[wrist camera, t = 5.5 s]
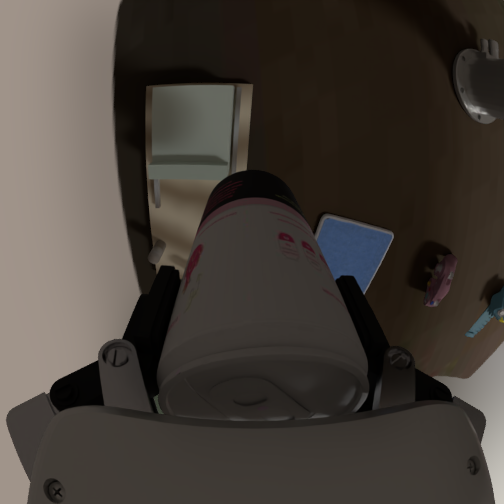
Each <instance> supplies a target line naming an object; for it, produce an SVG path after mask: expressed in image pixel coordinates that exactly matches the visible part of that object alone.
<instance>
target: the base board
mask: <svg viewBox="0 0 504 504" xmlns="http://www.w3.org/2000/svg"><path fill="white" fill-rule="evenodd" d="M184 85H233V86H234V87H235V88H234V102H233V117H232V133H231V150H230V169H229V174H228V176H229V175H231V174H234V173H236V172H240V171H245V170H246V169H247V155H248V141H249V128H250V115H251V102H252V90H253V84H236V83H183V84H166V85H154V86H146V168H147V186H148V201H149V212H150V223H151V233H152V241H153V248H152V250H151V252H150V254H149V255H148V260H149V261H150V262H151V263H153V264H156V271H157V273H158V271H159V269H160V266H161V265H168V266H174V267H175V269H176V270H179V273H180V279H182V277H183V274H184V270H185V267H186V264H187V261H188V258H189V254H190V251H191V248H192V245H193V242H194V239H195V236H196V233H197V230H198V227H199V224H200V221H201V218H202V215H203V212H204V209H205V207H206V204H207V201H208V198H209V196H210V194H211V192H212V190H213V189H214V188H215V186H216V185H217V184H218V183H219V182H220V180H188V179H149V173H148V165H149V164H150V163H152V94H153V87H166V86H184Z"/></svg>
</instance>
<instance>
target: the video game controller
mask: <svg viewBox="0 0 504 504" xmlns="http://www.w3.org/2000/svg"><path fill="white" fill-rule="evenodd" d="M456 264H457V258H456V257H455V256H454V255H453V254H448V255H446V256H445V257H444V259H443V260H442V261H441V262H440V263H437V265H436V267H435V269H434V275H436V276H437V277H438V278H437V280H436V279H434V278H430V279H429V281H428V283H427V290H426V294H425V297H424V305H426V306H430V307H433V306H438V303H439V302H440V301H441V300H442V299H443V297H444V296H445V295H446V294H447V293H448V291H449V288H450V283H451V280H452V278H453V276H454V272H455V266H456Z"/></svg>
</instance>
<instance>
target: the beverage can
mask: <svg viewBox="0 0 504 504" xmlns="http://www.w3.org/2000/svg"><path fill="white" fill-rule="evenodd" d="M367 372H368V361H367V357H366V354H365V352H364V349H363V347H362V344H361V341H360V339H359V336H358V334H357V331H356V329H355V327H354V324H353V322H352V319H351V317H350V314H349V312H348V310H347V307H346V305H345V303H344V300H343V298H342V296H341V293H340V291H339V289H338V286H337V284H336V282H335V280H334V278H333V275H332V273H331V271H330V269H329V267H328V264H327V262H326V260H325V258H324V256H323V254H322V251H321V249H320V247H319V245H318V243H317V241H316V239H315V237H314V235H313V233H312V231H311V229H310V227H309V225H308V223H307V221H306V219H305V217H304V215H303V213H302V211H301V209H300V207H299V205H298V203H297V201H296V199H295V197H294V195H293V193H292V191H291V190H290V188H289V187H288V186H287V185H286V184H285V183H284V182H283V181H282V180H281V179H280V178H278V177H276V176H275V175H273V174H270V173H268V172H264V171H259V170H245V171H240V172H236V173H234V174H231V175H229V176H227V177H226V178H224V179H223V180H222V181H220V182H219V183H218V184H217V185H216V186H215V188H214V189H213V190H212V192H211V194H210V196H209V198H208V201H207V204H206V207H205V209H204V212H203V215H202V218H201V221H200V224H199V227H198V230H197V233H196V236H195V239H194V242H193V245H192V248H191V251H190V254H189V258H188V261H187V264H186V267H185V270H184V274H183V277H182V280H181V284H180V287H179V290H178V294H177V297H176V301H175V304H174V308H173V311H172V315H171V319H170V322H169V326H168V330H167V334H166V337H165V341H164V345H163V349H162V353H161V357H160V361H159V365H158V369H157V384H158V387H159V395H158V402H159V406H160V408H161V410H162V412H163V413H164V415H172V416H181V417H190V418H200V419H214V420H235V421H277V420H298V419H311V418H321V417H331V416H339V415H346V414H353V413H355V412H356V411H357V410H358V409H359V408H360V407H361V406H362V404H363V403H364V401H365V400H366V398H367V396H368V393H369V382H368V378H367Z"/></svg>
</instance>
